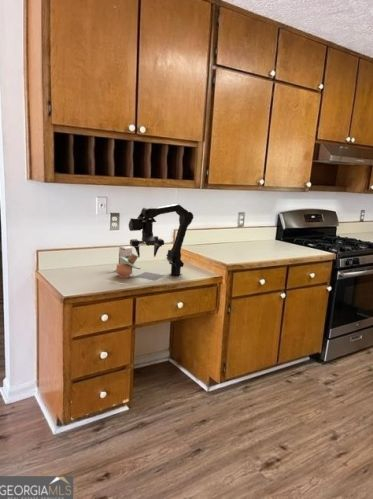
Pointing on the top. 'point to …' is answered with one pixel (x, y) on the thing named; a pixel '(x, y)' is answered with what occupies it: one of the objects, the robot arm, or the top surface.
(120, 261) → the syrup box
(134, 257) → the lid
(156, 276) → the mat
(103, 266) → the top surface
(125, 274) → the bowl
